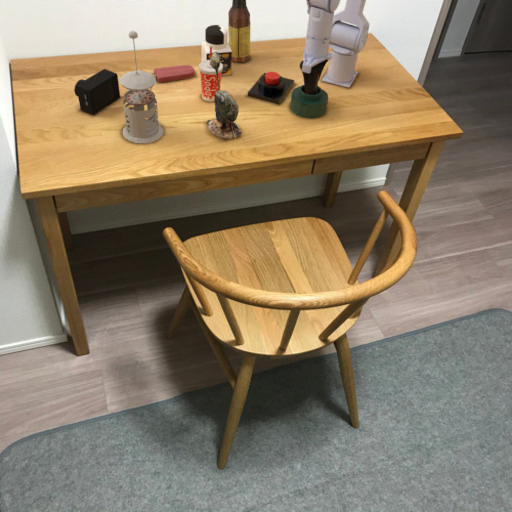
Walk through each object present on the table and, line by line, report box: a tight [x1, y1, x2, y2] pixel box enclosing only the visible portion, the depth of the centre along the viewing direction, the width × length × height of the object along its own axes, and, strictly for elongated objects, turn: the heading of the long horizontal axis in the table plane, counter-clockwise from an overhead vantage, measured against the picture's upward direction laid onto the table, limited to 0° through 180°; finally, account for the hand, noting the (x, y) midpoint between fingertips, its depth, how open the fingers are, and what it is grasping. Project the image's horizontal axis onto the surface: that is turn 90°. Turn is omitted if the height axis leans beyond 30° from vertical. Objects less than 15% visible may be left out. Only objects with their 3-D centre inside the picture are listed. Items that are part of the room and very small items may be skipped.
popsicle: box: [152, 64, 195, 83], centre depth 155 cm, size 5×2×15 cm
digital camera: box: [73, 68, 121, 116], centre depth 142 cm, size 10×5×7 cm, turn 149°
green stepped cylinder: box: [289, 84, 329, 119], centre depth 147 cm, size 9×9×6 cm
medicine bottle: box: [200, 24, 233, 76], centre depth 156 cm, size 7×7×12 cm
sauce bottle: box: [227, 0, 251, 63], centre depth 158 cm, size 7×6×20 cm
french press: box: [118, 30, 164, 144], centre depth 129 cm, size 10×12×25 cm
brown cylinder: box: [305, 75, 320, 95], centre depth 144 cm, size 3×3×7 cm
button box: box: [247, 72, 296, 105], centre depth 153 cm, size 12×9×3 cm
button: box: [265, 71, 281, 85], centre depth 152 cm, size 4×4×2 cm
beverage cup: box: [198, 46, 223, 103], centre depth 145 cm, size 6×6×14 cm
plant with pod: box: [206, 52, 243, 140], centre depth 132 cm, size 8×11×20 cm
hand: (311, 86), depth 144 cm, fingers closed on brown cylinder, 3 cm apart
